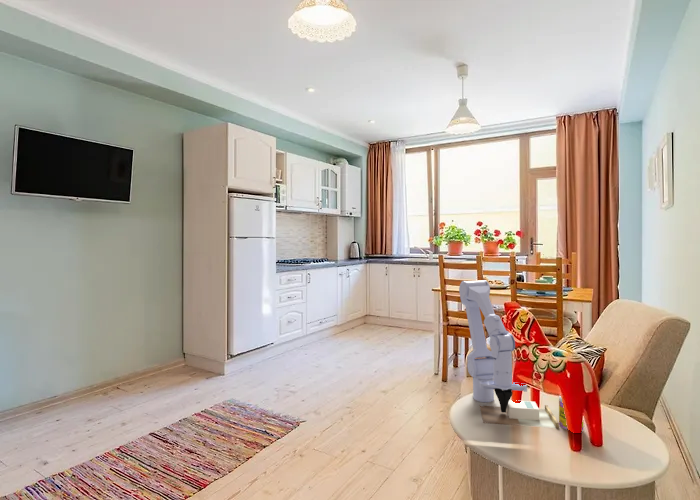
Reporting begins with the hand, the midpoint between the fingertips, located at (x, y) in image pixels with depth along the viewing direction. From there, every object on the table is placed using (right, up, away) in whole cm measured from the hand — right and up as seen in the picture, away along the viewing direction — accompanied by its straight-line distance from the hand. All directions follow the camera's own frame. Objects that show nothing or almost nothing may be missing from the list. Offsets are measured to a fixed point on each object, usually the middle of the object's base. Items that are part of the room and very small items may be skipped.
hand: (503, 411), depth 137 cm
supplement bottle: (+17, -2, -10) cm, 20 cm away
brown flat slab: (+4, -2, -2) cm, 4 cm away
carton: (+6, -1, -1) cm, 6 cm away
